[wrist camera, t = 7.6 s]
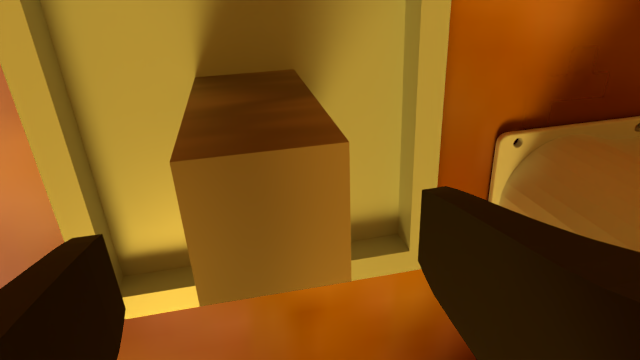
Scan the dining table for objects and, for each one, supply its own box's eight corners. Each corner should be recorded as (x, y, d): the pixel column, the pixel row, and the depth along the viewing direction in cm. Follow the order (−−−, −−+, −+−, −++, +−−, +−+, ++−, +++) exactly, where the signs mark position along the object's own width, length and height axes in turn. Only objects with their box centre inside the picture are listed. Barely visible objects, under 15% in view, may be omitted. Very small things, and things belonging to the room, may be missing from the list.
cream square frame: (432, -101, 17) (459, -111, 15) (414, 243, 24) (430, 267, 22) (-20, -88, 14) (-59, -98, 12) (106, 292, 21) (94, 324, 19)
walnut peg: (293, 69, 18) (349, 142, 10) (299, 158, 20) (351, 281, 12) (195, 77, 17) (169, 162, 9) (210, 168, 19) (199, 306, 11)
